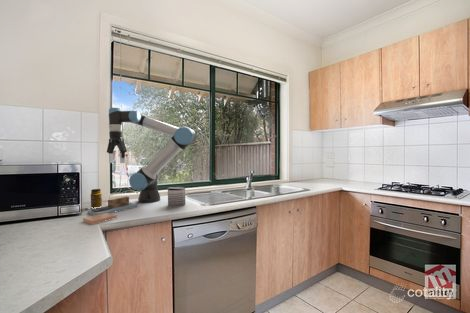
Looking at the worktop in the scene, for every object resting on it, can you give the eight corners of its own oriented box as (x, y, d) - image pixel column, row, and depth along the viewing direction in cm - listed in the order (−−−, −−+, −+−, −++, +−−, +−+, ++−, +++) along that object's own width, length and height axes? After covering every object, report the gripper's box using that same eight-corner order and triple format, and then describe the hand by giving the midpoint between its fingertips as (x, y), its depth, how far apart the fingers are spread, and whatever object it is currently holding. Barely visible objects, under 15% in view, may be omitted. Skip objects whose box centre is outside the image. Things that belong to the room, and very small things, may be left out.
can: (164, 205, 151) (164, 187, 150) (180, 202, 158) (180, 185, 158) (172, 208, 142) (172, 189, 142) (188, 205, 150) (188, 187, 149)
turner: (125, 203, 151) (125, 196, 150) (130, 204, 147) (130, 197, 147) (91, 211, 133) (90, 202, 133) (96, 212, 130) (95, 203, 130)
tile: (106, 212, 128) (83, 218, 118) (116, 215, 122) (92, 221, 112) (106, 216, 128) (83, 222, 118) (116, 219, 122) (92, 225, 112)
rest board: (126, 204, 155) (125, 202, 155) (137, 206, 147) (137, 204, 147) (87, 213, 135) (87, 210, 134) (98, 216, 127) (98, 213, 127)
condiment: (104, 206, 150) (104, 188, 150) (92, 209, 142) (91, 190, 142) (97, 205, 153) (96, 188, 153) (84, 208, 145) (84, 190, 145)
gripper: (100, 132, 155) (101, 163, 156) (120, 129, 141) (121, 163, 142) (111, 132, 161) (112, 162, 162) (131, 130, 148) (132, 162, 148)
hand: (116, 163), depth 152 cm, fingers open, 13 cm apart
